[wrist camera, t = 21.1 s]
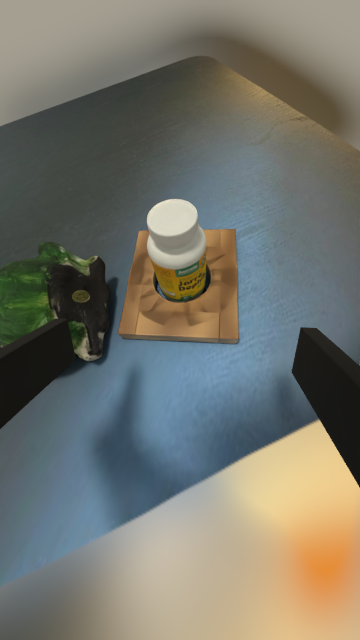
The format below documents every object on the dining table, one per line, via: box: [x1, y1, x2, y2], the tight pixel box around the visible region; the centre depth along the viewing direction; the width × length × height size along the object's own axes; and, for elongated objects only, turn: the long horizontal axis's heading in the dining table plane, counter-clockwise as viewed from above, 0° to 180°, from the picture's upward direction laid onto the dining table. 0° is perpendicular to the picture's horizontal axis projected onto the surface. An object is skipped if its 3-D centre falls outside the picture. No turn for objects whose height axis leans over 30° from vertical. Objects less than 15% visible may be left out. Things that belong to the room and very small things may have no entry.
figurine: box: [0, 242, 111, 361], centre depth 22 cm, size 14×9×15 cm
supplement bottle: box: [147, 199, 206, 303], centre depth 21 cm, size 5×5×10 cm
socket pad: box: [118, 229, 239, 344], centre depth 25 cm, size 12×14×2 cm
